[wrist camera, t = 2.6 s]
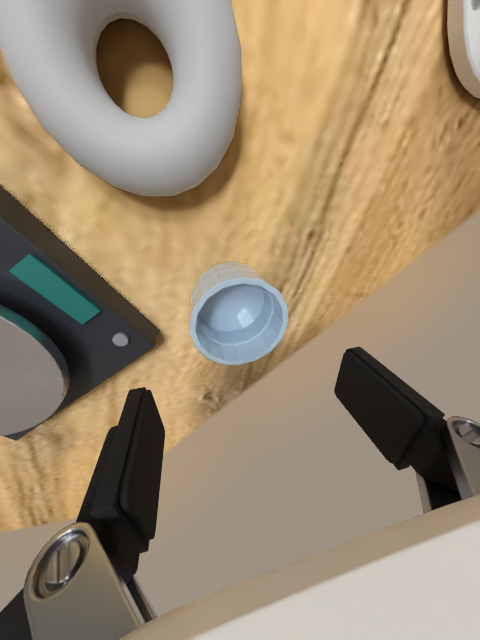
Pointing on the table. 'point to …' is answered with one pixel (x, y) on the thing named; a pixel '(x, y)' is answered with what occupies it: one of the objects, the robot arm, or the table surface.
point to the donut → (99, 109)
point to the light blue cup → (236, 314)
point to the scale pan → (28, 374)
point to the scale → (66, 303)
